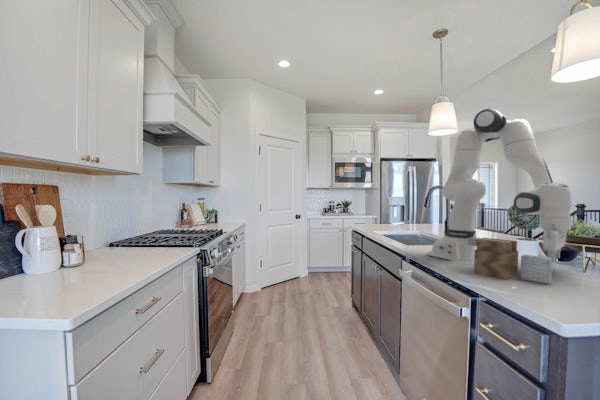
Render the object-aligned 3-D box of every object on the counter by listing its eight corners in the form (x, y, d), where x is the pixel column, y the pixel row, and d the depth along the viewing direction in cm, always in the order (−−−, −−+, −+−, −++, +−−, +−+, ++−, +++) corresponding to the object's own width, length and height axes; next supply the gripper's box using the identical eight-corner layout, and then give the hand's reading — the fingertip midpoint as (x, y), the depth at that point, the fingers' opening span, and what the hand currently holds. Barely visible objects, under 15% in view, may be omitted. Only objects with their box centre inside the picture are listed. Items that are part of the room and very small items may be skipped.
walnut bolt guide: (474, 272, 106) (474, 240, 106) (485, 267, 113) (485, 237, 113) (508, 279, 97) (509, 244, 97) (517, 273, 105) (518, 240, 105)
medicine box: (551, 282, 95) (551, 257, 95) (549, 284, 92) (550, 259, 92) (523, 276, 101) (523, 254, 101) (520, 279, 98) (520, 255, 98)
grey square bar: (468, 245, 112) (468, 237, 112) (471, 244, 113) (471, 237, 113) (509, 250, 101) (509, 242, 101) (511, 249, 102) (512, 241, 102)
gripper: (561, 227, 95) (560, 265, 95) (570, 223, 107) (569, 257, 108) (537, 225, 100) (537, 262, 100) (549, 222, 112) (548, 255, 112)
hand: (554, 259), depth 104 cm, fingers open, 8 cm apart
